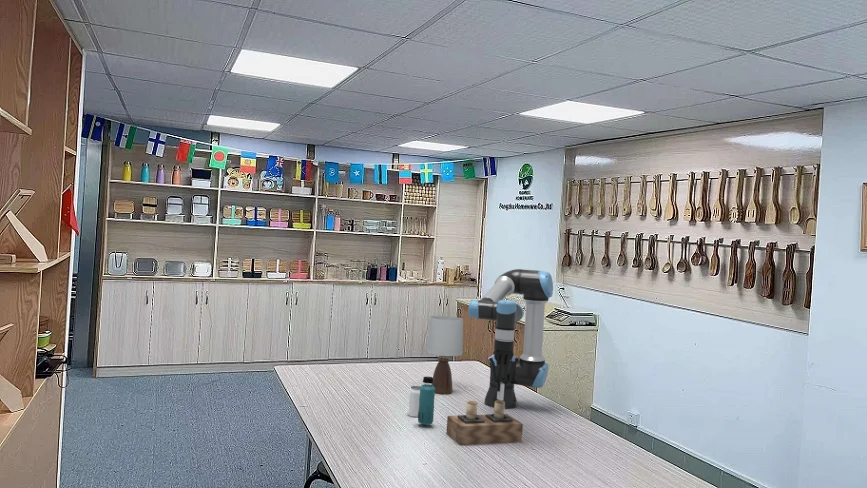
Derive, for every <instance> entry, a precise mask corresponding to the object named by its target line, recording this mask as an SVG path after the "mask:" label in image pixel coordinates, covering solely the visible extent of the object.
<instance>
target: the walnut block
mask: <svg viewBox="0 0 867 488" xmlns="http://www.w3.org/2000/svg"><path fill="white" fill-rule="evenodd" d="M446 419H447V421H446V433H445V434H446V435H447V436H448V437H450V438H451V439H453V440H454V441H455V443H457V444H458V445H459V446H465V445H467V446H470V445H486V444H505V443H506V444H507V443H522V442H523V429H524V424H523V423H522V422H521V421H519V420H517V419H515V418H514V417H512V416H511V415H510V414H507V413H504V419H495V418H494V413H487V414H477V415H476V420H467V419H466V414H458V415H447V417H446Z"/></svg>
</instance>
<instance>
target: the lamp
mask: <svg viewBox="0 0 867 488" xmlns="http://www.w3.org/2000/svg"><path fill="white" fill-rule="evenodd" d="M463 330H464V320H463V318H462V317H457V316H450V315H432V316H430V317H429V324H428V331H427V336H426V337H427V338H426V345H425V353H426V354H429V355H433V356H437V361H438V362H437V364H436V365H435V368H434V371H433V375H432V378H433V383H430V385H433V386H434V388H435V394H439V395H449V394H453V391H454V390H453V377H452V370H451V367H450V363H449V362H450V360H451V359H450V358H449V357H458V356H462V355H464V353H463V352H464V341H463V339H464V331H463ZM438 356H439V357H438Z"/></svg>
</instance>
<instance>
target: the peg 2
mask: <svg viewBox="0 0 867 488" xmlns="http://www.w3.org/2000/svg"><path fill="white" fill-rule="evenodd" d="M493 408H494V409H493V410H494V411H493V414H494V418H495V419H504V414H505V412H506V411H505V409H506V408H505V402H504V401H500V400H496V401H495V407H493Z"/></svg>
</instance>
